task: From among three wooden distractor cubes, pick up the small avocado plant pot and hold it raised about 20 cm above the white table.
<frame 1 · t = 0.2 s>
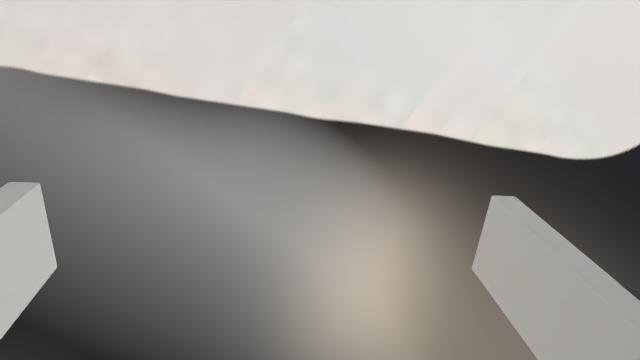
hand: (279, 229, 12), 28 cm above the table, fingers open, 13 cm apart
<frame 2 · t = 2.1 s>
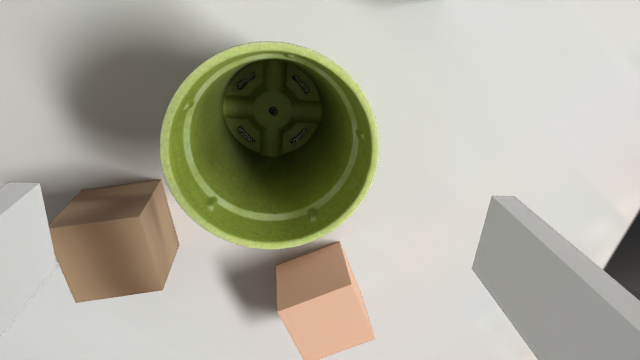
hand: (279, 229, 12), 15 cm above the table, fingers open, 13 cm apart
walnut cube: (133, 217, 28), on the table
plant pot: (271, 106, 26), on the table
terracotta cube: (319, 278, 32), on the table
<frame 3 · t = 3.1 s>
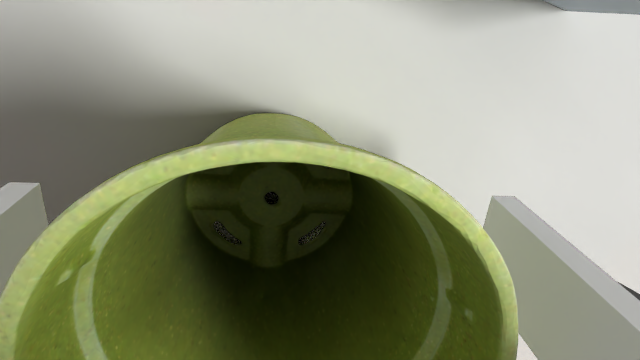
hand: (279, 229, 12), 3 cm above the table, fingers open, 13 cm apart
plant pot: (269, 187, 16), on the table
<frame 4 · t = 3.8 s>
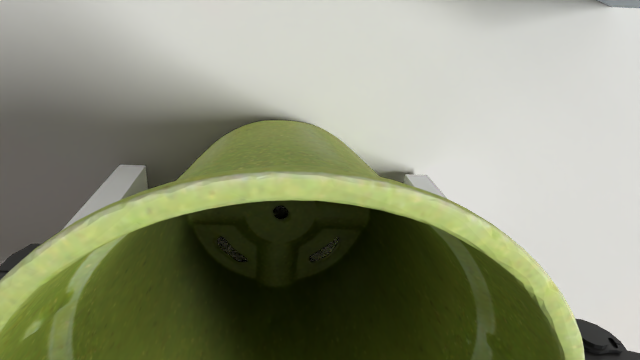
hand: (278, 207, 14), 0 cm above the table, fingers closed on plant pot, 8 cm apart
plant pot: (278, 200, 14), on the table, touching gripper
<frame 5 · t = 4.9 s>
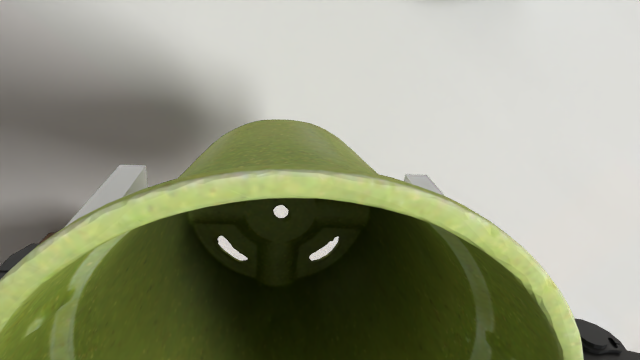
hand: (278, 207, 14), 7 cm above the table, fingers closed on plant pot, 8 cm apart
plant pot: (278, 199, 14), point 6 cm above the table, touching gripper
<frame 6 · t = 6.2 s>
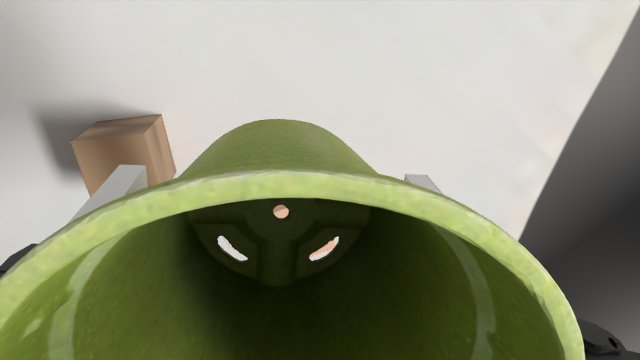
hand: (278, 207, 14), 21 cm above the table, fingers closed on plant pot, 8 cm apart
walnut cube: (138, 147, 34), on the table
plant pot: (278, 199, 14), point 21 cm above the table, touching gripper
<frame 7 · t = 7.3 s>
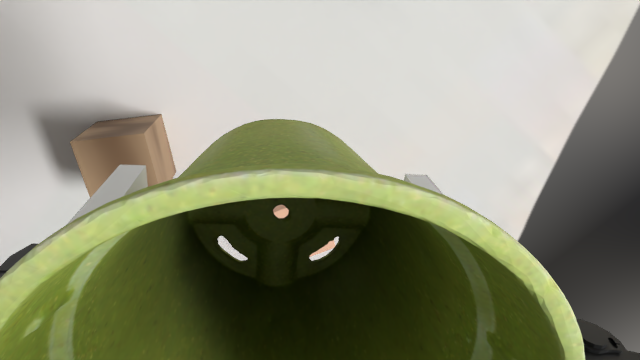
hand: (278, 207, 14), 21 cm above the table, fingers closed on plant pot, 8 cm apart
walnut cube: (138, 147, 34), on the table
plant pot: (278, 199, 14), point 21 cm above the table, touching gripper
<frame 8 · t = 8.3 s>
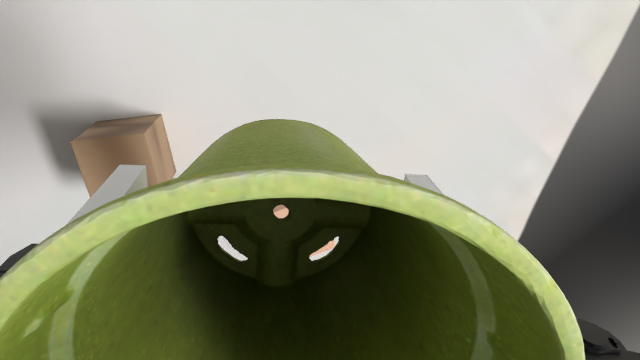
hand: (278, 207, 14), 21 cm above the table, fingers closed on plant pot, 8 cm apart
walnut cube: (138, 147, 34), on the table
plant pot: (278, 199, 14), point 21 cm above the table, touching gripper
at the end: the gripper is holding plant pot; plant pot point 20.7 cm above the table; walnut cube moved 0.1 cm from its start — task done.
